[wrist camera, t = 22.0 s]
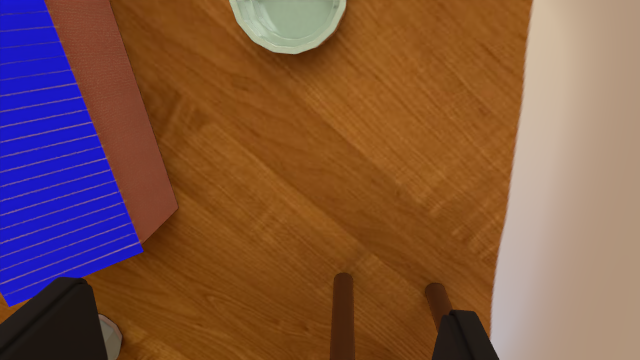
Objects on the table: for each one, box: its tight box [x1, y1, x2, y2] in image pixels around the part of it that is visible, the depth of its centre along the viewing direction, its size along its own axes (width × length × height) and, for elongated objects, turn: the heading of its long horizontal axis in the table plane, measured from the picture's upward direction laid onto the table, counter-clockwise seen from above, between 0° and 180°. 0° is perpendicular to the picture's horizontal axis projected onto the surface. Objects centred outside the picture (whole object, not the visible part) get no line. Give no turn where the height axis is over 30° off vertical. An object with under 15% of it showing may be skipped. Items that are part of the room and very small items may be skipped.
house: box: [0, 0, 179, 307], centre depth 23 cm, size 12×20×12 cm, turn 9°
